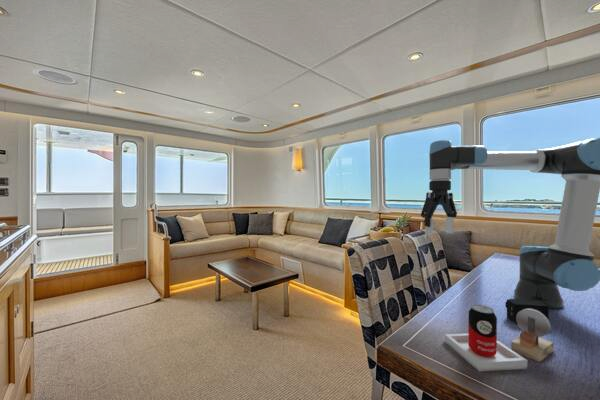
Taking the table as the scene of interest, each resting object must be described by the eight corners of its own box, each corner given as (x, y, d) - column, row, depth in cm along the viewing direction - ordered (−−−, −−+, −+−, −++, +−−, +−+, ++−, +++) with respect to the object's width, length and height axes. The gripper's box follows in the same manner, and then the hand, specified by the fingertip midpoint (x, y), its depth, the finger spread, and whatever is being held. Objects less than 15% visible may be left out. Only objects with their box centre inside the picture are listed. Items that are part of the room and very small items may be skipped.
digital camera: (536, 318, 91) (536, 299, 91) (548, 326, 85) (549, 305, 85) (504, 316, 92) (504, 297, 92) (514, 324, 87) (514, 303, 87)
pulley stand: (524, 339, 77) (524, 302, 77) (555, 351, 71) (556, 311, 71) (509, 349, 72) (509, 309, 72) (541, 363, 66) (542, 319, 66)
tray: (485, 339, 77) (485, 332, 77) (527, 368, 64) (527, 360, 64) (444, 341, 76) (444, 334, 76) (478, 371, 63) (478, 362, 63)
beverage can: (463, 347, 72) (463, 305, 71) (477, 343, 74) (478, 302, 74) (486, 361, 66) (487, 315, 66) (501, 355, 68) (502, 311, 68)
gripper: (448, 182, 110) (448, 231, 110) (411, 179, 97) (410, 234, 98) (467, 181, 103) (466, 233, 103) (429, 178, 91) (428, 237, 91)
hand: (439, 234), depth 101 cm, fingers open, 13 cm apart
